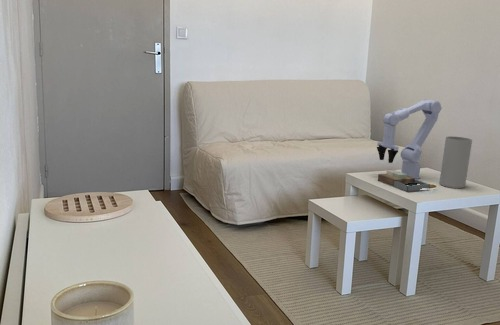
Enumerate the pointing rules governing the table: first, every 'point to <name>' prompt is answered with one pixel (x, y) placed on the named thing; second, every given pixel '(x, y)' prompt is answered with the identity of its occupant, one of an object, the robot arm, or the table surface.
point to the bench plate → (394, 179)
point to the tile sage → (400, 175)
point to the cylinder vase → (455, 162)
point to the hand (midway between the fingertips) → (385, 161)
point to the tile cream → (391, 172)
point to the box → (411, 188)
